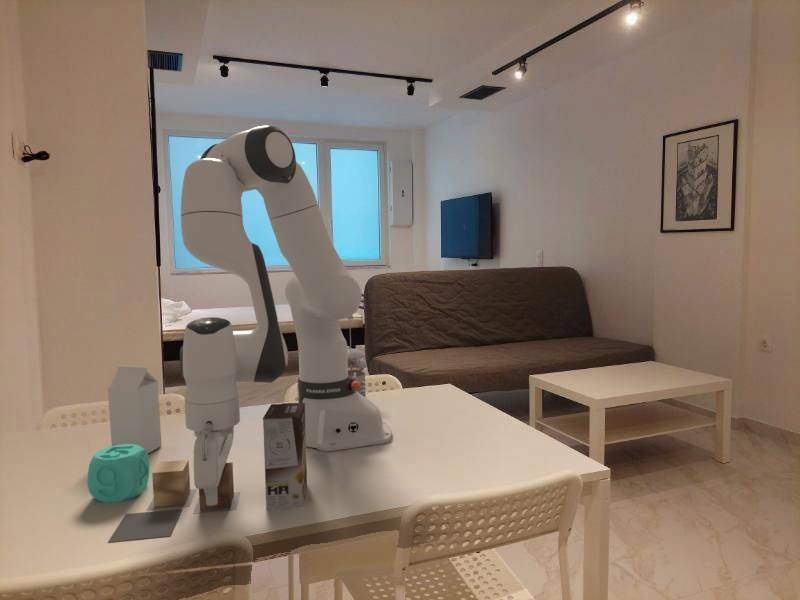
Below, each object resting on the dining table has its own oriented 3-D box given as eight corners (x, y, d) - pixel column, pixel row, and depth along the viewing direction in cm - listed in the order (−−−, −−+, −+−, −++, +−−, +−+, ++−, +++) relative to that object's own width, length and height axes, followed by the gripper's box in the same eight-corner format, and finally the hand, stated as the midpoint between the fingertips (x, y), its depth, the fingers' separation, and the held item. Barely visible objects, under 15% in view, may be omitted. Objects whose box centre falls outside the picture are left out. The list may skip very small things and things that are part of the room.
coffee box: (303, 509, 96) (300, 417, 94) (265, 511, 95) (261, 418, 94) (308, 486, 105) (305, 401, 103) (273, 487, 105) (269, 403, 103)
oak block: (190, 491, 103) (188, 459, 102) (184, 504, 98) (182, 470, 97) (161, 494, 102) (159, 461, 101) (154, 506, 97) (152, 473, 96)
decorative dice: (151, 483, 107) (148, 442, 107) (136, 502, 100) (133, 458, 99) (106, 486, 106) (103, 444, 106) (88, 505, 99) (85, 461, 98)
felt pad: (182, 511, 96) (182, 508, 96) (170, 538, 87) (170, 535, 87) (125, 516, 94) (125, 514, 94) (108, 544, 85) (107, 541, 85)
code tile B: (197, 490, 104) (197, 488, 104) (189, 507, 97) (189, 506, 97) (156, 493, 103) (156, 492, 103) (146, 511, 96) (146, 509, 96)
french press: (330, 406, 156) (327, 316, 154) (341, 395, 168) (339, 311, 165) (364, 407, 155) (363, 316, 152) (373, 396, 166) (372, 311, 163)
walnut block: (234, 494, 101) (232, 462, 100) (230, 507, 96) (229, 473, 96) (204, 497, 100) (203, 464, 100) (199, 510, 95) (198, 476, 95)
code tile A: (240, 493, 102) (240, 491, 102) (236, 511, 95) (236, 509, 95) (200, 497, 101) (199, 495, 101) (192, 515, 94) (192, 513, 94)
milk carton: (141, 458, 120) (135, 370, 118) (112, 456, 121) (106, 369, 119) (161, 446, 127) (157, 363, 125) (133, 444, 128) (128, 362, 126)
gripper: (224, 432, 87) (228, 518, 88) (238, 396, 107) (241, 467, 108) (181, 435, 86) (185, 522, 87) (203, 398, 106) (207, 469, 107)
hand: (216, 491), depth 98 cm, fingers open, 8 cm apart
